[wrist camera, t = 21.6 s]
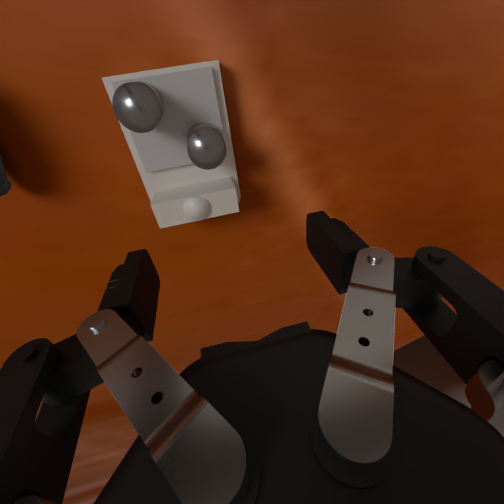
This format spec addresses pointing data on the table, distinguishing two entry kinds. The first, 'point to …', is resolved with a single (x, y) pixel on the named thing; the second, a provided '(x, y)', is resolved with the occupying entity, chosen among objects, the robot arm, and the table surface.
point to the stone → (3, 179)
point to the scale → (183, 144)
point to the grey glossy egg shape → (138, 106)
